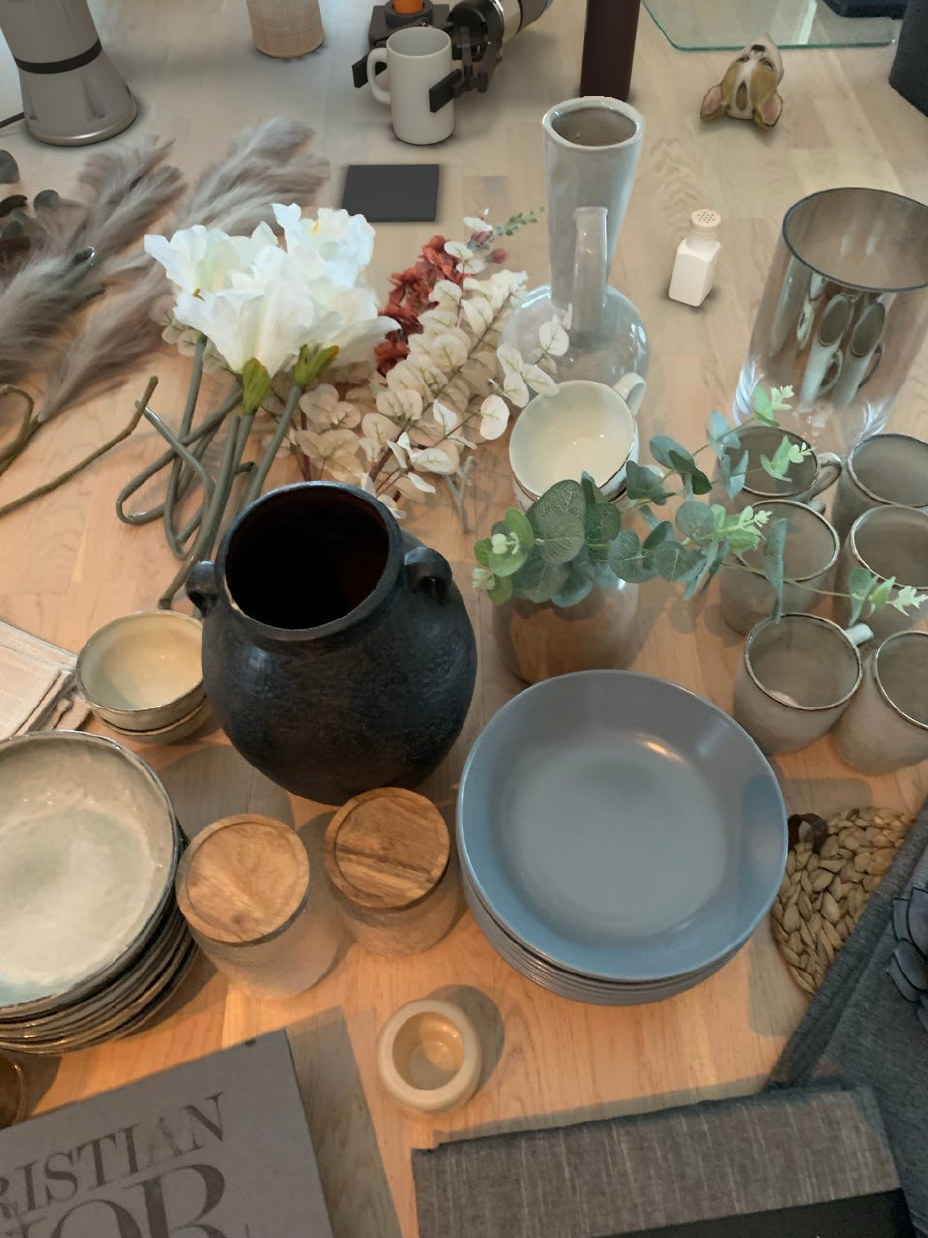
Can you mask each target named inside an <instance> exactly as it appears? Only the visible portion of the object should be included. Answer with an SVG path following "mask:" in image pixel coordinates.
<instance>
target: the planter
mask: <svg viewBox="0 0 928 1238" xmlns="http://www.w3.org/2000/svg"><path fill="white" fill-rule="evenodd" d="M245 1H246V6H247V12H248V16H249V23H250V27H251V32H252V38H253V41H254V42H253V43H254V46H255V47H256V49H258V50H259V51H260V52H261V53H263V54H265V55H267V56H269V57H273V58H278V59H290V58H297V57H302V56H305V55H307V54H310V53H312V52H314V51H315V50H317V48H318V47H320V45H321V44H322V43H323V41H324V35H325V34H324V27H323V21H322V14H321V9H320V8H321V7H320V3H319V0H245Z"/></svg>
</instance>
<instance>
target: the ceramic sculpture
mask: <svg viewBox="0 0 928 1238" xmlns="http://www.w3.org/2000/svg"><path fill="white" fill-rule="evenodd" d="M784 75H785V68H784V65H783V60H782V56H781V54H780V51H779V49H778V46H777V45H776V44H775V42H774V40H773V39H772V38H771V35H770V33H769V32H768V31H766V32H764V33H763V35H761V36H760V37H758V38H756V39H754V40H753V41H750V42H749V43H748V44H747V45H746V46H745V47H744V48H742V49H741V50H740V51H739V52H738V54H736V57H735V58H734V59H733V60H732V61H731V62H730V64H729V67H728V68H727V69H726V73H725V74H724V75H723V77H722V79H721V81H720V83H719V84H715V85H713V86H711V87H710V88H709V89H708V91H707V93H706V94H705V95H704V96H703V97H702V104H701V108H700V112H699V119H700V120H702V121H710V120H711V121H712V120H716V119H719V118H720V117H722V116H723V115H724V113H727V114H728V116H730V117H732V118H737V119H743V120H752V119H753V121H754V122H755V124H756V125H757V126H758V127H760V128H761V129H763V130H766V131H770V130H772V129H773V128H775V126H776V125H777V123H778V121H779V119H780V117H781V115H782V112H783V104H784V100H783V98H782V96H781V95H780V93H778V86H779V85H780V84H781V81H783V78H784Z"/></svg>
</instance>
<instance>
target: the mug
mask: <svg viewBox="0 0 928 1238" xmlns="http://www.w3.org/2000/svg"><path fill="white" fill-rule="evenodd" d="M378 61H380V62H384V63H386V64H387V72H388V83H389V90H385V89H382V88H381V86H380V85H379V83H378V80H377V76H375V64H376V62H378ZM451 72H453V60H452V47H451V39H450V37H449V36H448V34H446V33H445V32H443V31H441V30H439V29H436V28H431V27H412V28H407V29H403V30H400V31H398V32H396V33H394V34H392V35H391V36H390V37H389V38H388V40H387V43H386V48H377V49H374V50H373V51H371V53H370V54H369V57H368V61H367V78H368V83H367V84H368V87H369V90H370V93H371V95H372V97H373V98H374V99H375V101H377V102H379V103H381V104H384V105H388V106H391V107H390V108H391V116H392V117H391V118H392V127H393V131H394V135H396V137H397V138H399V139H400V141H403V142H405V143H409V144H413V145H431V144H432V145H433V144H435V143H439V142H442V141H444V140H446V139H447V138H449V137H450V136H451V135H452V134H453V132H454V130H455V124H456V123H455V122H456V121H455V104H454V98H453V99H452V100H451V101H450V102H448V103H447V104H446V105H445V106H443V107H442V108H441V109H439V110H438V111H437V112H436V113H433V112H430V102H429V89H430V88H432V87H433V86H434V85H436V84H437V83H438V82H440V81H441V80H442V79H444V78H445V77H446V76H448V75H449V74H450V73H451Z"/></svg>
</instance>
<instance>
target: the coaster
mask: <svg viewBox="0 0 928 1238" xmlns="http://www.w3.org/2000/svg"><path fill="white" fill-rule="evenodd" d="M439 166H440V165H439V164H438V163H432V164H431V163H419V164H418V163H417V164H416V163H415V164H414V163H413V164H412V163H411V164H409V163H408V164H349V165H348V167H347V172H346V173H347V175H346V179H345V184H344V190H343V197H342V200H341V201H342V202H341V206H340V210H341V209H346V210H347V211H348V214H349V215H350V216H354V215H356V214H362V215H364V217H365V218H366V220H367V222H435V221H436V209H437V195H438V184H439V170H440V167H439Z"/></svg>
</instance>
